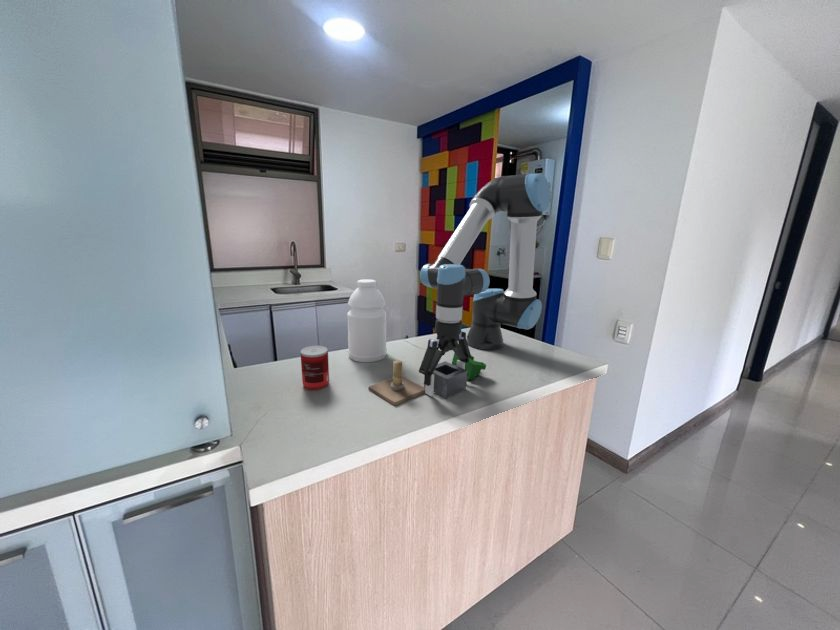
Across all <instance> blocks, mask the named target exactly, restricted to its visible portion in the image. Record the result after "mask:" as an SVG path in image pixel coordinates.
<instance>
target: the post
mask: <svg viewBox="0 0 840 630" xmlns="http://www.w3.org/2000/svg"><path fill="white" fill-rule="evenodd" d="M392 364H393V365H392V366H393V367H392V377H391V378H387V379H386V380H383V381H379V382H378V383H377V382H376V383H374V384H371V385H369V386H368V390H369V392H372V393H374V394H375V395H376V396H379V397H380V398H382V399H383V400H385V401H386V402H388V403H390V404H391V405H393V406H397V405H400V404H403V403H404V402H407V401H408V400H411V399H413V398H415V397H418V396H420V395H422V394H426V393H425V388H424V386H422V385H420V384H418V383H416V382H414V381H412V380H410V379H409V378H407V377H404V376H403V361H401V360H393V361H392Z"/></svg>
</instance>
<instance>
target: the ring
mask: <svg viewBox="0 0 840 630" xmlns="http://www.w3.org/2000/svg"><path fill="white" fill-rule="evenodd" d="M429 371H430V369H429ZM433 374H434V394H436V395H438V396H441V397H442V398H444V399H445V400H446V399H448V398H451V397H452V396H454V395H457V394H459V393H461V392H463V391H465V390H467V382H468V380H467V370H465V369H463V368H460V367H458V366H455V365H453V364H452V363H450V362H448V361H443V362H440V363H438V364H437V366H436V368H435V370H434V372H433ZM423 387H424V388H425V384H424V383H423Z"/></svg>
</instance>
